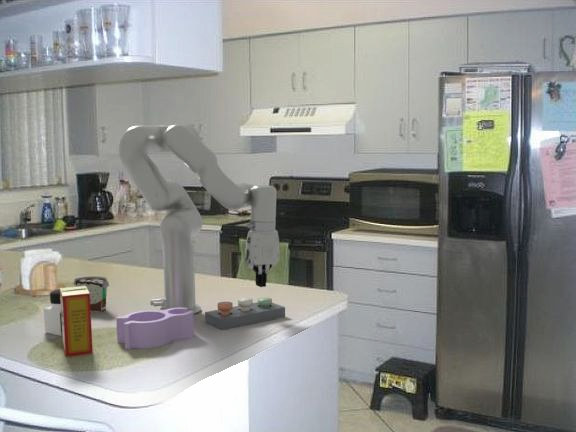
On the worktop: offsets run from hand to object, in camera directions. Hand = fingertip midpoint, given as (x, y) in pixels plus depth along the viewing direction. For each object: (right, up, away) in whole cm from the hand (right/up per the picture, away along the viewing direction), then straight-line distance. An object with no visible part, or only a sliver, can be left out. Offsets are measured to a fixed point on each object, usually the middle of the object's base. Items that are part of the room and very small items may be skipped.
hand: (260, 285), depth 201 cm
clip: (-27, -13, -21) cm, 37 cm away
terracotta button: (-10, -9, -7) cm, 15 cm away
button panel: (-4, -10, -3) cm, 11 cm away
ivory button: (-4, -8, -3) cm, 10 cm away
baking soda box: (-46, -14, -29) cm, 57 cm away
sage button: (+1, -9, +1) cm, 9 cm away
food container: (-53, -9, +11) cm, 55 cm away
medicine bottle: (-56, -12, -13) cm, 58 cm away
